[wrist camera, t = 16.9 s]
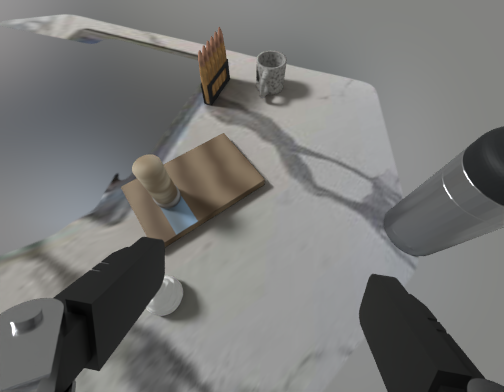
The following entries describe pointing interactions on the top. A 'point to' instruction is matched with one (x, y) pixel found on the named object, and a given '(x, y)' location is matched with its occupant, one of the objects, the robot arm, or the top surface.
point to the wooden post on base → (156, 181)
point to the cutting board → (196, 189)
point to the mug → (270, 72)
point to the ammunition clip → (213, 68)
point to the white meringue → (166, 297)
